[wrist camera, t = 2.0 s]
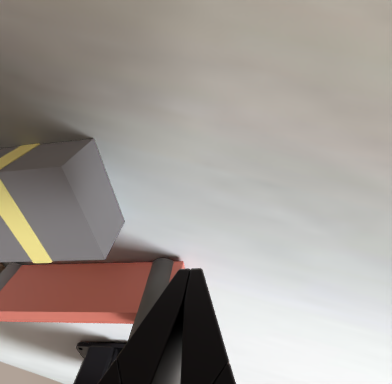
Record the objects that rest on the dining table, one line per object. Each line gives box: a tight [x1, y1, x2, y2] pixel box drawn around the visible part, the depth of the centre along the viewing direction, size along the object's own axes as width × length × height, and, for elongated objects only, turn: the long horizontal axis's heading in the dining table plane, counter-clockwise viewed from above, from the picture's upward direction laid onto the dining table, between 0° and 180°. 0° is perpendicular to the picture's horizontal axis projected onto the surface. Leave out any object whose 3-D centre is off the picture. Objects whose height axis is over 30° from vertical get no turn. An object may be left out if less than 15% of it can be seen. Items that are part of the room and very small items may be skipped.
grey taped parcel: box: [0, 138, 125, 263], centre depth 15 cm, size 6×8×4 cm
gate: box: [0, 258, 185, 341], centre depth 18 cm, size 15×2×6 cm, turn 98°
